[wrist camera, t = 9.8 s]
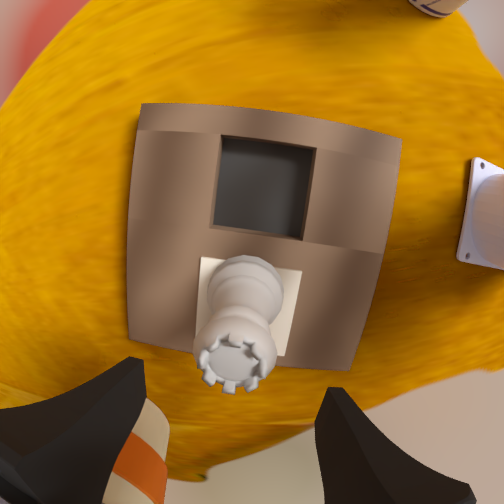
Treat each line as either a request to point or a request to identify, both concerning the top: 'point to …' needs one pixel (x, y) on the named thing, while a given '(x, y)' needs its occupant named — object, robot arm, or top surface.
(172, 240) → the hole board
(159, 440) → the reusable coffee cup
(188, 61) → the top surface
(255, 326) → the rook chess piece
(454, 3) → the energy drink
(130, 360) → the robot arm
